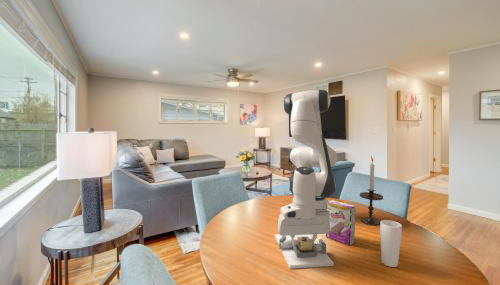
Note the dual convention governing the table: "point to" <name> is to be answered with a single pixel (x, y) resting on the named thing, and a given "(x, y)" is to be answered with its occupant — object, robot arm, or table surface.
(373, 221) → the candlestick
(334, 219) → the candy bar box
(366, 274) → the table surface
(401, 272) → the table surface
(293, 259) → the shaft bench
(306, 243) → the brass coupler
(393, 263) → the white cup
